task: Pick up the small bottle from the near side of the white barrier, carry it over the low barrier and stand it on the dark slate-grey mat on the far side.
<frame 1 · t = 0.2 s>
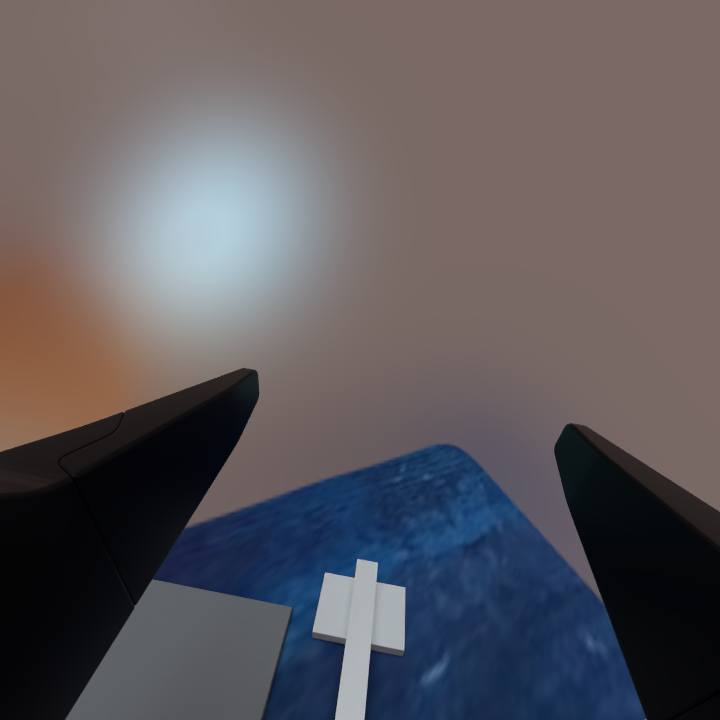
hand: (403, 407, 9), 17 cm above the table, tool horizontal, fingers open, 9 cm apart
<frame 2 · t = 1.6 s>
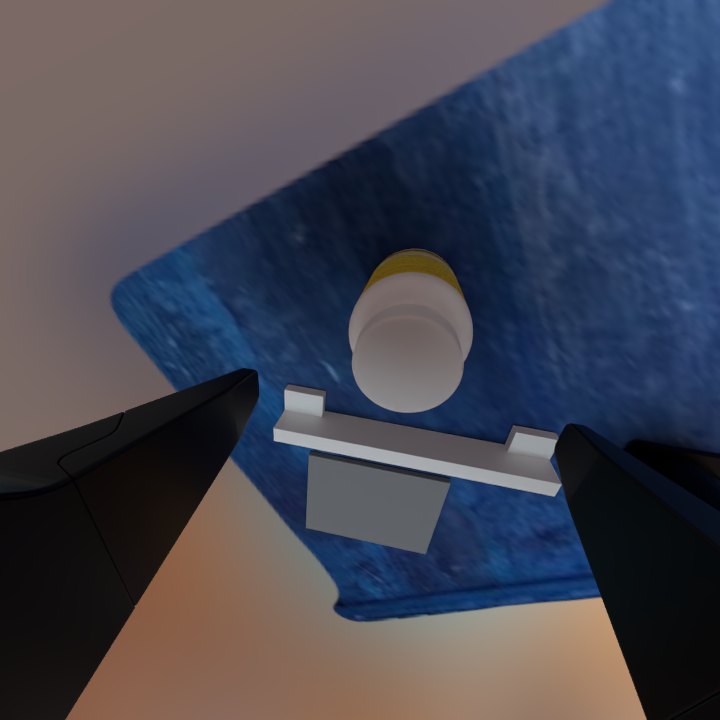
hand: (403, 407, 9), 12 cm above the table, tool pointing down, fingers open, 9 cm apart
white barrier: (411, 433, 25), on the table
supplement bottle: (411, 291, 20), on the table
slate mat: (371, 503, 29), on the table
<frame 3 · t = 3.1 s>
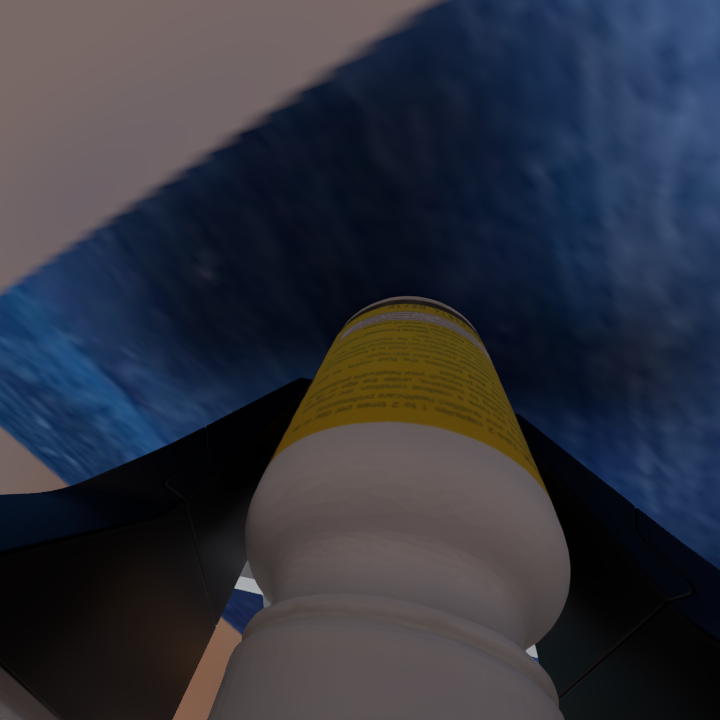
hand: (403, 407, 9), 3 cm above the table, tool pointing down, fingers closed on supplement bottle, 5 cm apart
white barrier: (407, 552, 17), on the table
supplement bottle: (405, 363, 12), on the table, touching gripper
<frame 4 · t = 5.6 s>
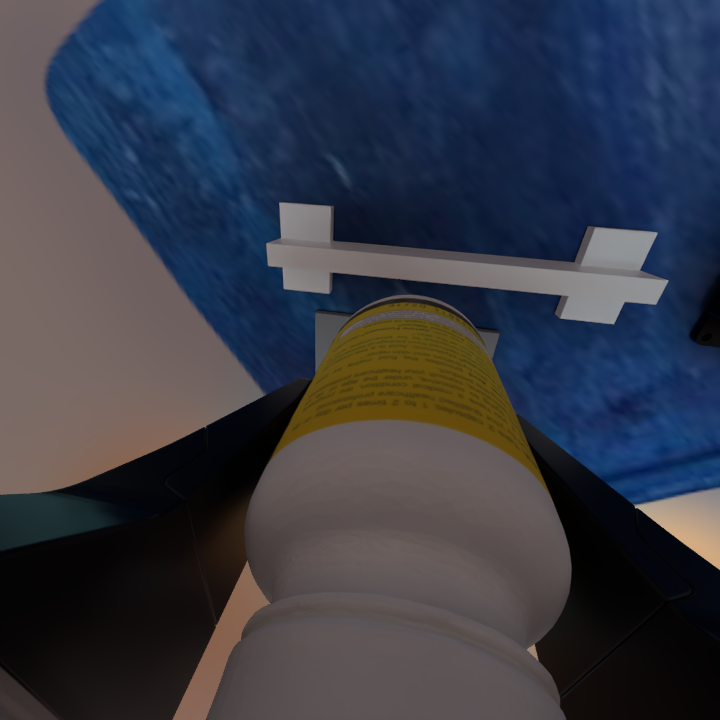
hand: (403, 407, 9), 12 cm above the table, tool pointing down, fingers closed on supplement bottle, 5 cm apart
white barrier: (447, 261, 19), on the table
supplement bottle: (405, 362, 12), point 10 cm above the table, touching gripper
slate mat: (396, 383, 23), on the table
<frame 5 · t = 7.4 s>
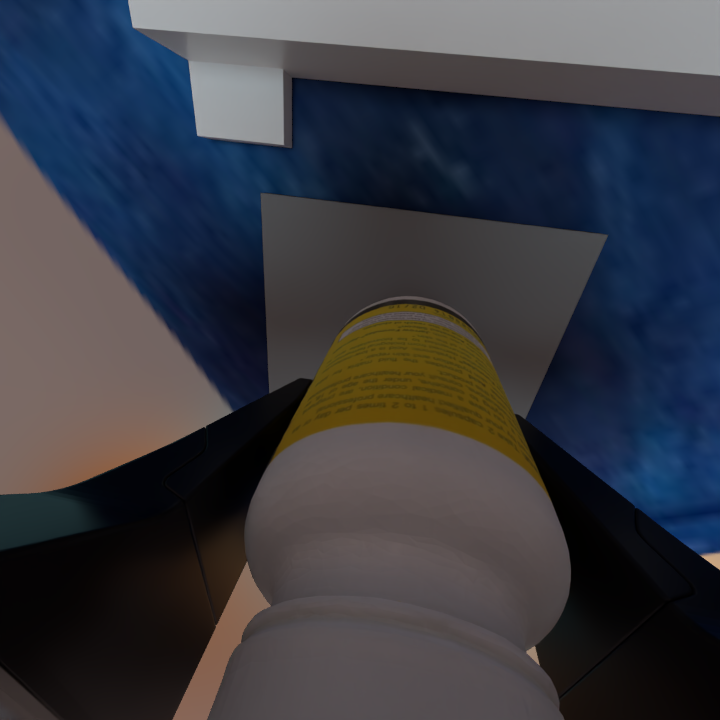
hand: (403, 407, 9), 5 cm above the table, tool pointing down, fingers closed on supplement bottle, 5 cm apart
white barrier: (521, 71, 9), on the table
supplement bottle: (405, 363, 12), point 2 cm above the table, touching gripper
slate mat: (403, 338, 14), on the table
when the fingers open (4 cm above the table, at t = 8.5 s): supplement bottle stays where it is, resting on slate mat.
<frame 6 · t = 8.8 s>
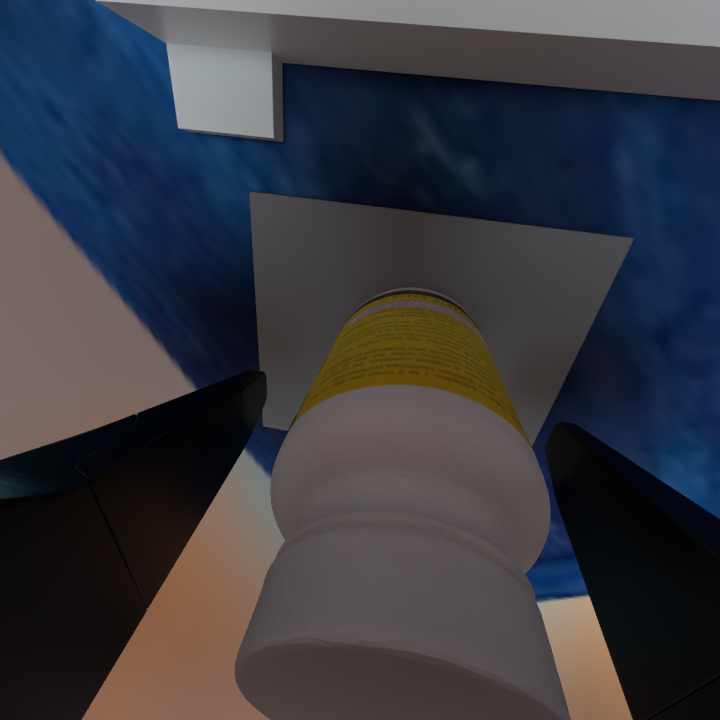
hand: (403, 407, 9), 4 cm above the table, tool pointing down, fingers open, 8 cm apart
white barrier: (540, 54, 8), on the table
supplement bottle: (407, 351, 12), resting on slate mat
slate mat: (405, 348, 13), on the table
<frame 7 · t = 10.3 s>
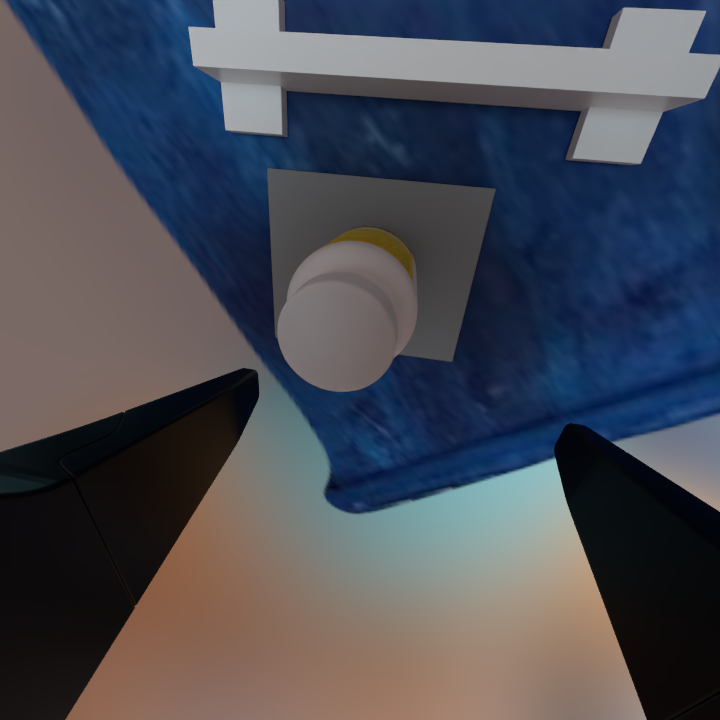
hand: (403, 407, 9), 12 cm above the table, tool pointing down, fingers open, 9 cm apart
white barrier: (430, 84, 15), on the table
supplement bottle: (370, 273, 19), resting on slate mat
slate mat: (369, 272, 19), on the table
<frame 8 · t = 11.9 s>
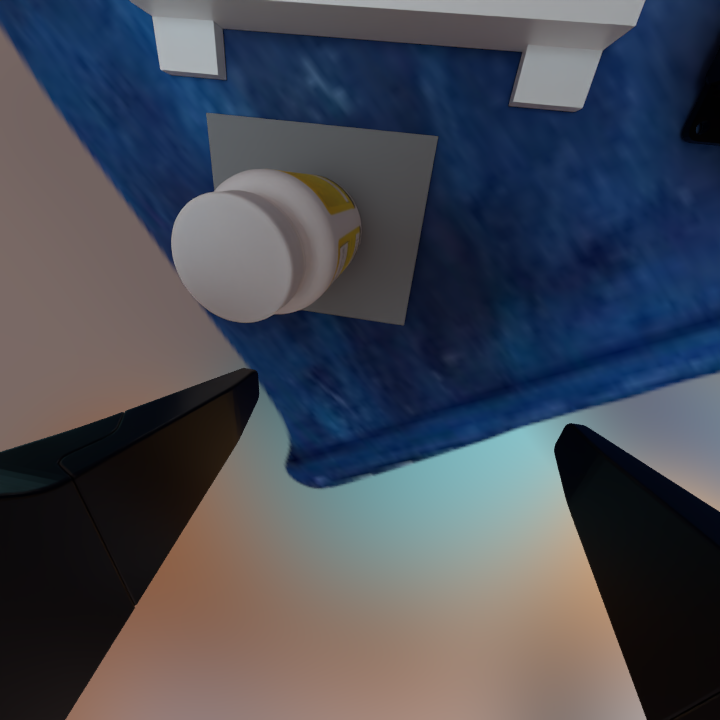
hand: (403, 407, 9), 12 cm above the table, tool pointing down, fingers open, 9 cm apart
white barrier: (368, 21, 14), on the table
supplement bottle: (317, 229, 18), resting on slate mat
slate mat: (317, 229, 19), on the table
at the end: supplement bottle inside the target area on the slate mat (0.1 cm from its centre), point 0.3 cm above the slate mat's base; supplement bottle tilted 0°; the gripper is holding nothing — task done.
